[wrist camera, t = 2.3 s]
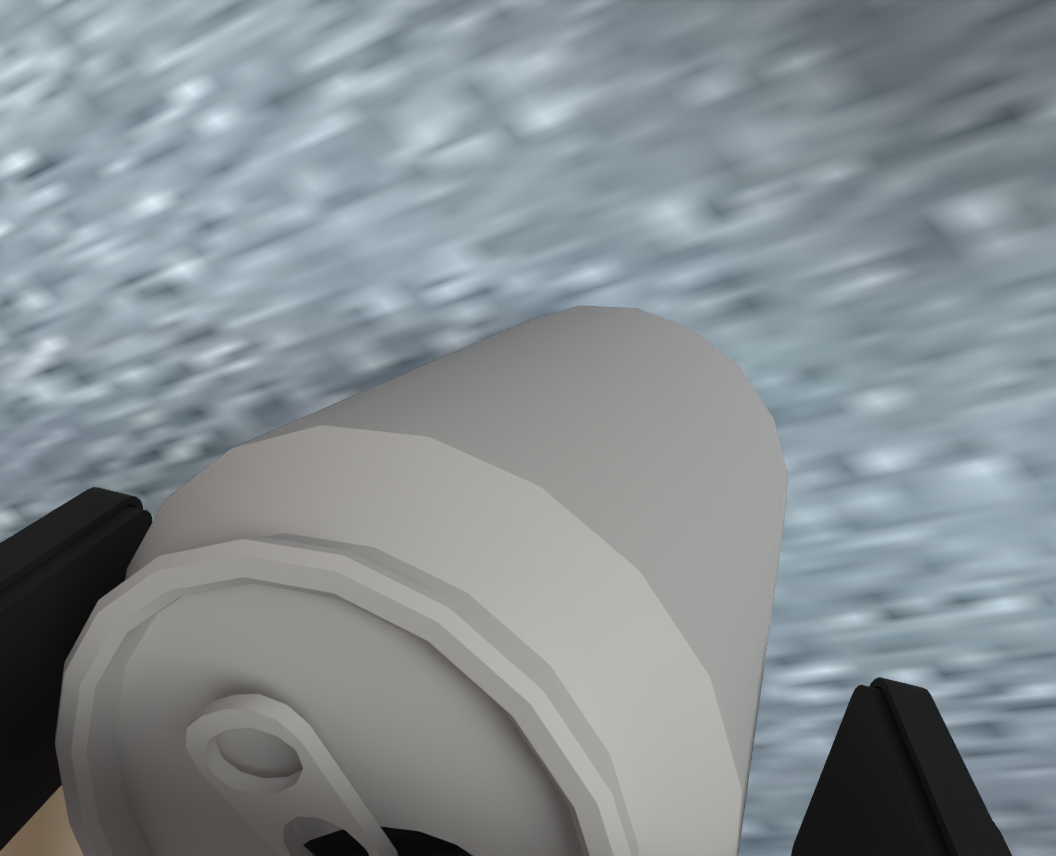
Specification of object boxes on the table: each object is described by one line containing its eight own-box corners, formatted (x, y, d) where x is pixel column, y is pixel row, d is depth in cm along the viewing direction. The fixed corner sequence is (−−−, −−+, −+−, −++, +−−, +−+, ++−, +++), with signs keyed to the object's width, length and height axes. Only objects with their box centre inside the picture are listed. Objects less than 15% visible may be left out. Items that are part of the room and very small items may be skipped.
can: (540, 658, 20) (206, 1197, 9) (405, 379, 20) (-129, 618, 9) (847, 571, 17) (877, 1220, 6) (702, 237, 17) (453, 330, 6)
